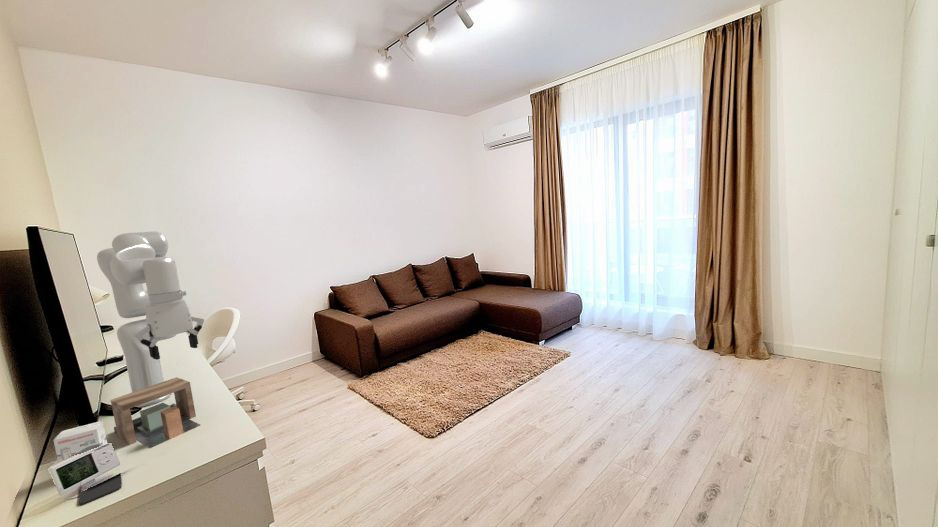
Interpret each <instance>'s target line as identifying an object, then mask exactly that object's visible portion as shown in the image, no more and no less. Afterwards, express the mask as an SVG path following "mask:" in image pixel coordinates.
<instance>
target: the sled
mask: <svg viewBox="0 0 938 527" xmlns="http://www.w3.org/2000/svg"><path fill="white" fill-rule="evenodd" d="M160 413H161V418H162V423H163V425H162V426H160V427H158V428H155V429H153V430H151V431H148V430H147V429H145V428H143V425H140V426H138V427H137V429H135V430H134V432H135V437H136V441H137V442H139V443H141V444H142V445H144V446H145V447H147V448H149V449H153V448H154V447H156V446H159V445H161V444H163V443H165V442H168V441H170V440H172V439H174V438H176V437H178V436H180V435H182V434H185V433H187V432H189V431H191V430H194V429H196V428H198V427H200V426H201V424H200V423H199V422H195V421H194V420H191V418H188V417H186V416H184V415H183V416H182V414H180V411H179V408H177V407H171V408H169V409H166V410H164V411H161V412H160Z"/></svg>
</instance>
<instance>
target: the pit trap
mask: <svg viewBox="0 0 938 527" xmlns="http://www.w3.org/2000/svg"><path fill="white" fill-rule="evenodd" d="M168 405H169V406H171V407H177V406H176V403H173V404H168ZM132 422H133V427H134V431H136V430H137V427H138V426H140V425H142V420H141V416H138V417H136V418H134V419H133V418H132ZM113 431H114V433H115V434H117V429H116V426H113ZM117 435H118V434H117Z"/></svg>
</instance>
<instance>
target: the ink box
mask: <svg viewBox="0 0 938 527" xmlns="http://www.w3.org/2000/svg"><path fill="white" fill-rule="evenodd" d="M53 444H54V450H55V455H56V459H57V463H58V462H60V461H62V460H65V459H67V458H70V457H72V456H74V455H77V454H81V453H84V452H87V451H89V450H91V449H94V448H97V447H99V446H102V445H105V444H108V440H107V435H106V430H105V426H104V422H103V421H96V422H92V423H88V424H85V425H80V426H76V427H73V428H69V429H65V430H62V431H61V432H59V433H58V435H56V436H55V437H54V438H53Z"/></svg>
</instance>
